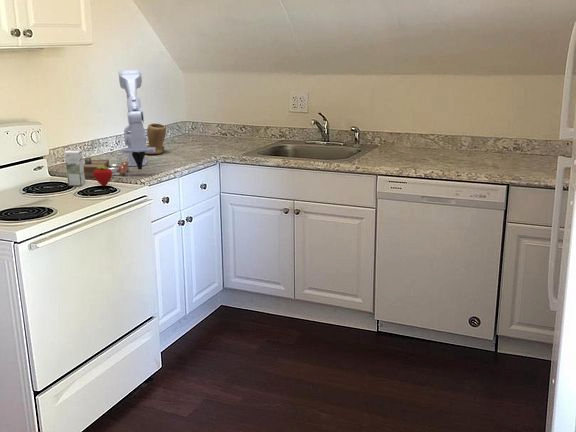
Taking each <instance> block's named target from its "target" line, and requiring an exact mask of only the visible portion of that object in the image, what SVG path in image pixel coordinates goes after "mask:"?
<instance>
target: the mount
mask: <svg viewBox="0 0 576 432" xmlns="http://www.w3.org/2000/svg"><path fill="white" fill-rule="evenodd" d="M91 162H92V164H85V163H83V167H84V176H85V180H86V179H87V180H88V179H95V178H94V175H93V172H94V171H95V170H97V169H99V168H97V167H102V166H103V165H104V167H107V164H110V160H109V159H91ZM102 162H103V163H102Z"/></svg>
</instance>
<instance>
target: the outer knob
mask: <svg viewBox="0 0 576 432" xmlns="http://www.w3.org/2000/svg"><path fill="white" fill-rule="evenodd" d="M107 169H110V170H111V171H112V174H114V173H115V174H117V173H119V175H126V174H127V171H126V165H119V167H116V168H107Z"/></svg>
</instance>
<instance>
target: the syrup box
mask: <svg viewBox="0 0 576 432" xmlns="http://www.w3.org/2000/svg"><path fill="white" fill-rule="evenodd" d="M83 157H84V156H83V151H82V149H80V148H79V149H66V150H65V151H64V159H65V160H64V161H65V167H66V168H65V169H66V176H67V184H68V186H69V187H78V186H80V187H82V186H83V185H85V184H86V179H85V176H84V167H83V165H84V160H83V159H84V158H83Z"/></svg>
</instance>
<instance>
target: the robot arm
mask: <svg viewBox="0 0 576 432" xmlns="http://www.w3.org/2000/svg"><path fill="white" fill-rule="evenodd" d="M142 79H143V77H142V70H140V69H125V70H124V69H123V70H121V69H119V70H118V80H119V87H120V88H121V89H124V91H125V93H126V104H127V105H126V106H127V122H128V125H127V126H126V127H125V128H124V130H123V138H124V145H125V146H127V148H121V149H120V152H121V155H123V154H128V165H129V167H137V169H138V170H142V169H143V166H146V165H147V162H148V160H146V154H147V153H148V152H153V153H155V152H156V149H155V147H154V148H152V147H147V146H145V145H146V144H147V135H146V134H147V132H146V128H145V127H144V124H145V123H144V122H145V116H144V112H143V108H142V105H141V99H140V97H138V92H137V91H138V89H139V88H141V86H142V83H143V80H142Z"/></svg>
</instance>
